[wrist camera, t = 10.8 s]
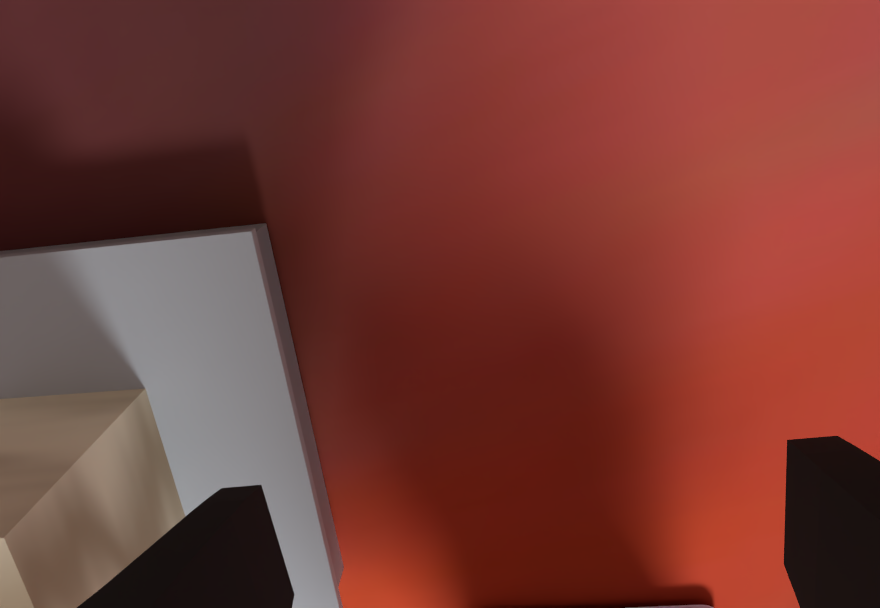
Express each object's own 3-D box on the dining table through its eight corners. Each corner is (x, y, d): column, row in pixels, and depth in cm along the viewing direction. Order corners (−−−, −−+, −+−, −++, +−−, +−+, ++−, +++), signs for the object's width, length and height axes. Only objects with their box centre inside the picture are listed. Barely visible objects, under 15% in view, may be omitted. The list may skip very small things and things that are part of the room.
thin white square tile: (357, 562, 24) (342, 619, 22) (21, 577, 26) (-26, 632, 24) (280, 206, 20) (250, 231, 17) (-123, 249, 21) (-199, 278, 19)
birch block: (186, 521, 21) (75, 702, 16) (47, 528, 22) (-110, 705, 16) (145, 388, 19) (4, 537, 14) (-5, 399, 20) (-199, 547, 14)
